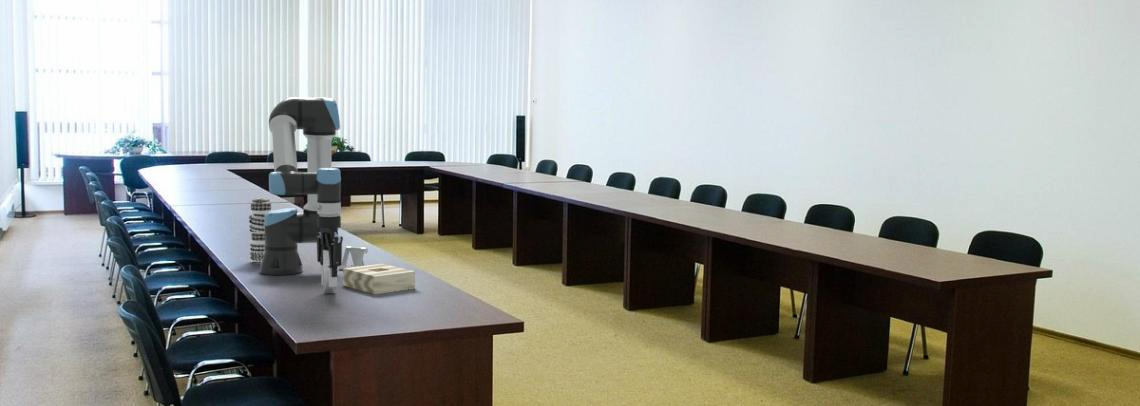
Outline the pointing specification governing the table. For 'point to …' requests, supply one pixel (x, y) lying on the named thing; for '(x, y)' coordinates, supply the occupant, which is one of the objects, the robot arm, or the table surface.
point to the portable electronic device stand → (353, 256)
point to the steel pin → (326, 273)
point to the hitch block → (378, 278)
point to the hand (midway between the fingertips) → (329, 285)
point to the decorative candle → (258, 227)
